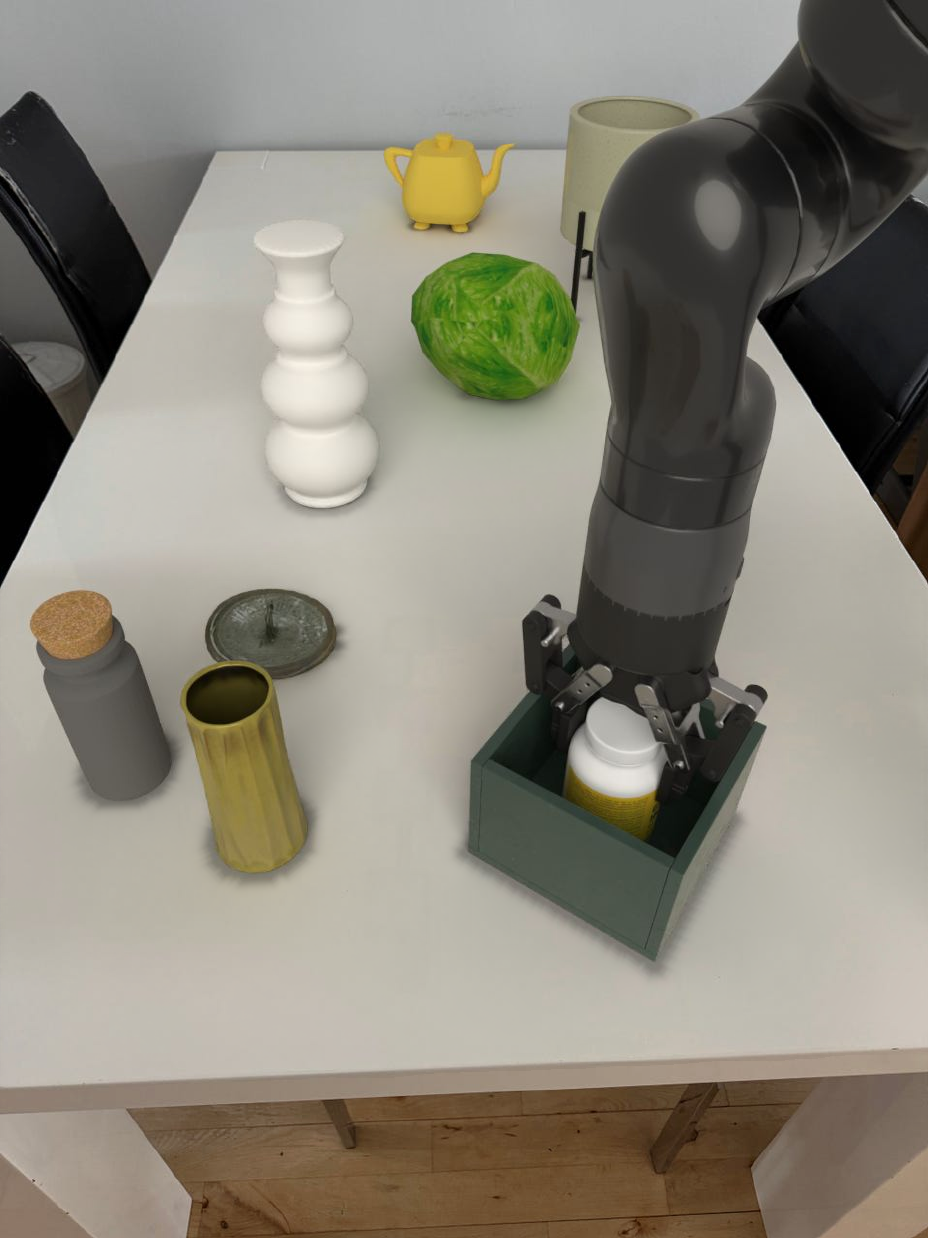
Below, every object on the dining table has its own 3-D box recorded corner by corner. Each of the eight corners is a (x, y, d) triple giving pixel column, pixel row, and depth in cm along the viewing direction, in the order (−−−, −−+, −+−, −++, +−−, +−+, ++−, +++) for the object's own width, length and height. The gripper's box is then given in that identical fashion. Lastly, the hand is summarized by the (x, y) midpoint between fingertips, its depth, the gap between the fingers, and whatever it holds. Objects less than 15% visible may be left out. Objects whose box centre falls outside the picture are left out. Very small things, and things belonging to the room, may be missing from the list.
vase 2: (396, 467, 93) (385, 216, 76) (358, 530, 86) (337, 266, 68) (297, 450, 95) (264, 202, 78) (252, 510, 88) (205, 249, 70)
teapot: (507, 241, 138) (511, 152, 129) (377, 232, 140) (373, 144, 131) (516, 210, 147) (520, 125, 139) (395, 201, 149) (392, 118, 141)
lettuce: (611, 372, 108) (563, 236, 106) (576, 364, 89) (516, 199, 88) (484, 427, 114) (436, 299, 113) (426, 430, 96) (368, 277, 94)
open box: (733, 817, 63) (767, 725, 56) (654, 962, 55) (683, 876, 48) (561, 731, 68) (573, 637, 61) (467, 852, 60) (470, 760, 54)
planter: (666, 334, 116) (701, 136, 100) (544, 318, 119) (558, 124, 103) (678, 286, 126) (710, 100, 111) (565, 272, 129) (581, 90, 114)
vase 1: (326, 824, 62) (303, 682, 52) (263, 891, 58) (226, 751, 48) (260, 782, 64) (226, 639, 55) (196, 844, 61) (147, 702, 51)
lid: (196, 647, 76) (172, 613, 72) (289, 576, 79) (271, 539, 75) (267, 723, 71) (245, 691, 67) (364, 643, 74) (349, 608, 70)
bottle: (74, 763, 65) (4, 610, 55) (149, 723, 68) (96, 570, 58) (109, 816, 62) (41, 664, 52) (186, 772, 65) (137, 619, 55)
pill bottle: (659, 868, 59) (690, 761, 51) (564, 872, 59) (582, 765, 51) (640, 789, 63) (667, 681, 56) (552, 792, 63) (567, 684, 56)
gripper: (496, 547, 46) (486, 756, 57) (774, 664, 40) (701, 870, 51) (569, 476, 50) (546, 683, 62) (828, 573, 44) (749, 781, 56)
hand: (617, 768), depth 56 cm, fingers closed on pill bottle, 6 cm apart
